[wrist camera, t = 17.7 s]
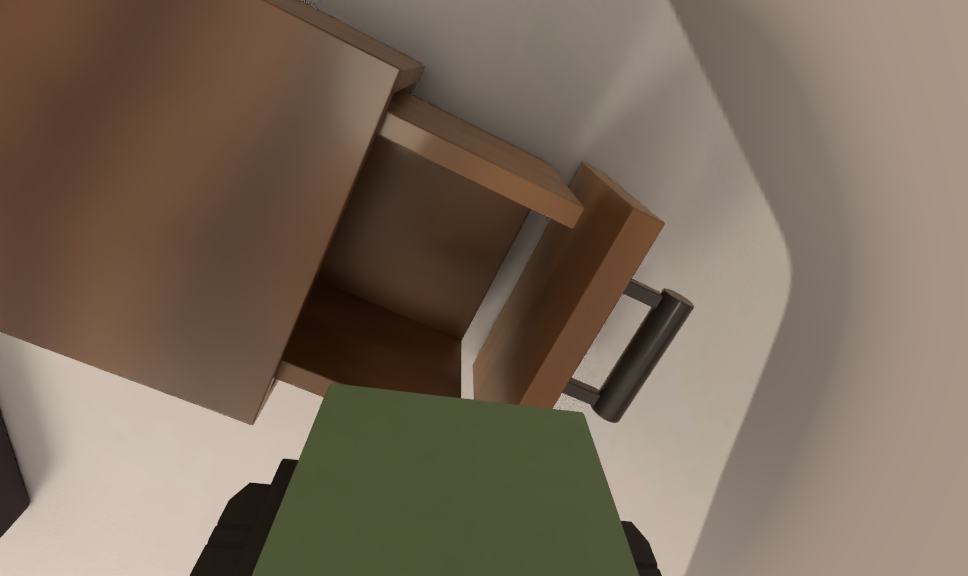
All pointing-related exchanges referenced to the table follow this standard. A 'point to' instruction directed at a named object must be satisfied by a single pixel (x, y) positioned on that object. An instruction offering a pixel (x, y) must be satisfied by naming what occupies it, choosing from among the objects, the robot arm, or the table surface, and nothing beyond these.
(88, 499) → the table surface
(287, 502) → the block
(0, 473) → the calculator
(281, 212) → the cabinet
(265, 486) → the robot arm
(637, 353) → the drawer
